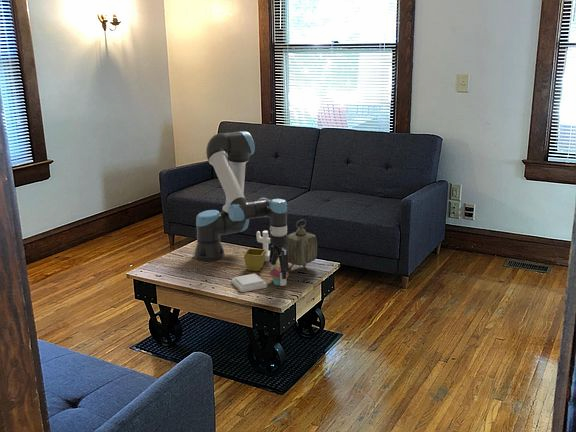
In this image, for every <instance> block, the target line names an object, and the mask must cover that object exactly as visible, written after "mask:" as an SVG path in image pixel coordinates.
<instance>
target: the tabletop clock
mask: <svg viewBox="0 0 576 432" xmlns="http://www.w3.org/2000/svg"><path fill="white" fill-rule="evenodd" d="M301 221H302V222H305V223H304V225H302V224H300V225H299V226H298V224H299V223H300V222H301ZM306 225H307V221H306V219H304V218H301V219H299V220H297V221H296V223H295V227H296V230H295V231H294V232H292V233H289V234H287V243H285V244H284V248H285V250H288V264H291V265H290V267H289V272H290V271H292V268H293V267H294V266H299V267H301V266H303V267H302V270H303V271H306V270H307V267H305V266H306V265H308V264H310V263H312V262H314V261H315V260H316V259H317V255H318V239H317V236H316V235H315V233H314V234H313V233H311V232H307V231H306V229H305V228H304V227H306Z"/></svg>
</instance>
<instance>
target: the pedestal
mask: <svg viewBox="0 0 576 432" xmlns="http://www.w3.org/2000/svg"><path fill="white" fill-rule="evenodd" d="M231 283H232V284H233V286H235V288H237V290H239V291H240V293H246V292H250V291H256V290H260V289H265V288H267V287H268V286H267V285H268V283H267V282H266V281H265V280H263V279H262V278H261V277H260V276H259V275H257V273H250V274H245V275H239V276H234V277H233V278H231Z"/></svg>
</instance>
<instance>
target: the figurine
mask: <svg viewBox="0 0 576 432" xmlns="http://www.w3.org/2000/svg"><path fill="white" fill-rule="evenodd" d="M256 241H257V243H261V244H262V249H265V250H266V251H265V260H264V262H270V261H269V257H270V250H269V245H270V235H269V231H268V230H263V231H262V236H261V231H259V230H258V231H256Z"/></svg>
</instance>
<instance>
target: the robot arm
mask: <svg viewBox="0 0 576 432" xmlns="http://www.w3.org/2000/svg"><path fill="white" fill-rule="evenodd" d="M255 147H256V145H255V141H254V139H253V137H252V135H251V133H250V132H248V131H242V130H241V131H233V132H219V133H217V134H214V135H213V136H212V137H211V138H210V139H209V141H208V143H207V145H206V148H205V149H206V152H205V153H206V158H207V161H208V163H209V165H211V166H212V167H213V169H214V171H215V174H216V176H217V178H218V180H219V183H220V185H221V187H222V189H223V192H224V195H225V204H224V205H223V206H222V211H219V210H217V209H209V210H203V211H202V212H199V213H198V214H197V215H196V219H195V220H196V222H195V226H196V227H195V228H196V239H197V240H196V241H197V243H196V246H195V250H194V255H193V256H194V258H195V260H197V261H200V262H215V261H220V260H221V259H223V258H224V257H225V250H224V247H223V245H222V242H221V236H224V235H231V234H238V233H240V232H244V231H246V230H247V229H248V227H249V223H250V220H251V219H258V218H259V219H260V218H269V233H270V235H269V238H270V244H269V246H270V247H269V251H270V257H269V261H268V262H269V263H270V264H271V270H273V269H275V268H277V266H276V260H277V261H278V263H279V266H280V267H279V268H281V271H280V285H279V286H280V287H282V286H283V287H284V286H287V278H286V272H288V273H289V272H290V271H289V263H288V250H285V248H284V244H285V243H287V236H288V204H287V200H286V199H282V198H273V199H270V198H266V197H260V198H259V199H257V200H256V201H247V199H246V196H245V193H244V192H245V191H244V190H245V179H246V178H245V176H246V165H247V164H246V163H248V162H249V161H250V156H252V155H254V153H255V149H256V148H255Z"/></svg>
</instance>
